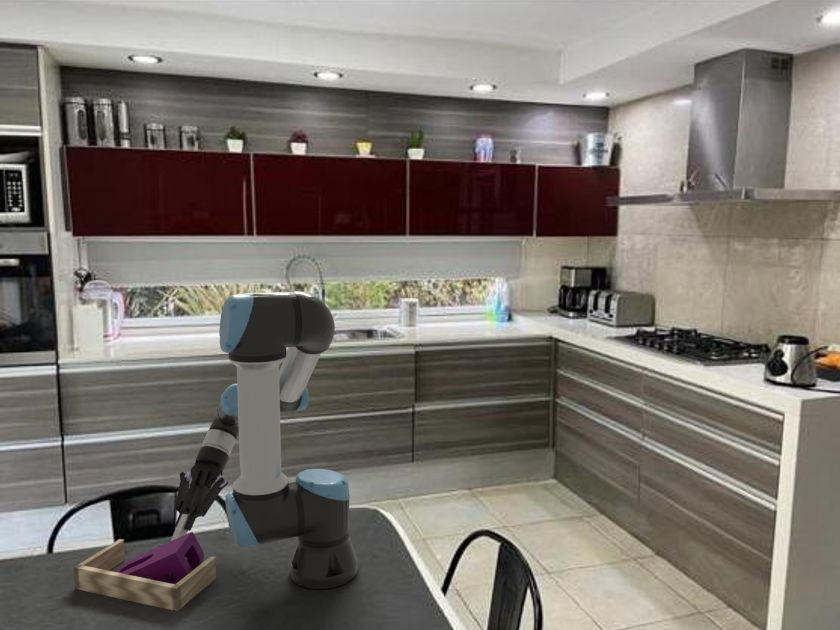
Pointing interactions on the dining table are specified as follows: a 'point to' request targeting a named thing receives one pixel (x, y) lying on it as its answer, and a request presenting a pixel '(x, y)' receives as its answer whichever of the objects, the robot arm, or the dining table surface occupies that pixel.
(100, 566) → the birch bay
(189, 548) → the mounting bracket
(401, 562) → the dining table surface
